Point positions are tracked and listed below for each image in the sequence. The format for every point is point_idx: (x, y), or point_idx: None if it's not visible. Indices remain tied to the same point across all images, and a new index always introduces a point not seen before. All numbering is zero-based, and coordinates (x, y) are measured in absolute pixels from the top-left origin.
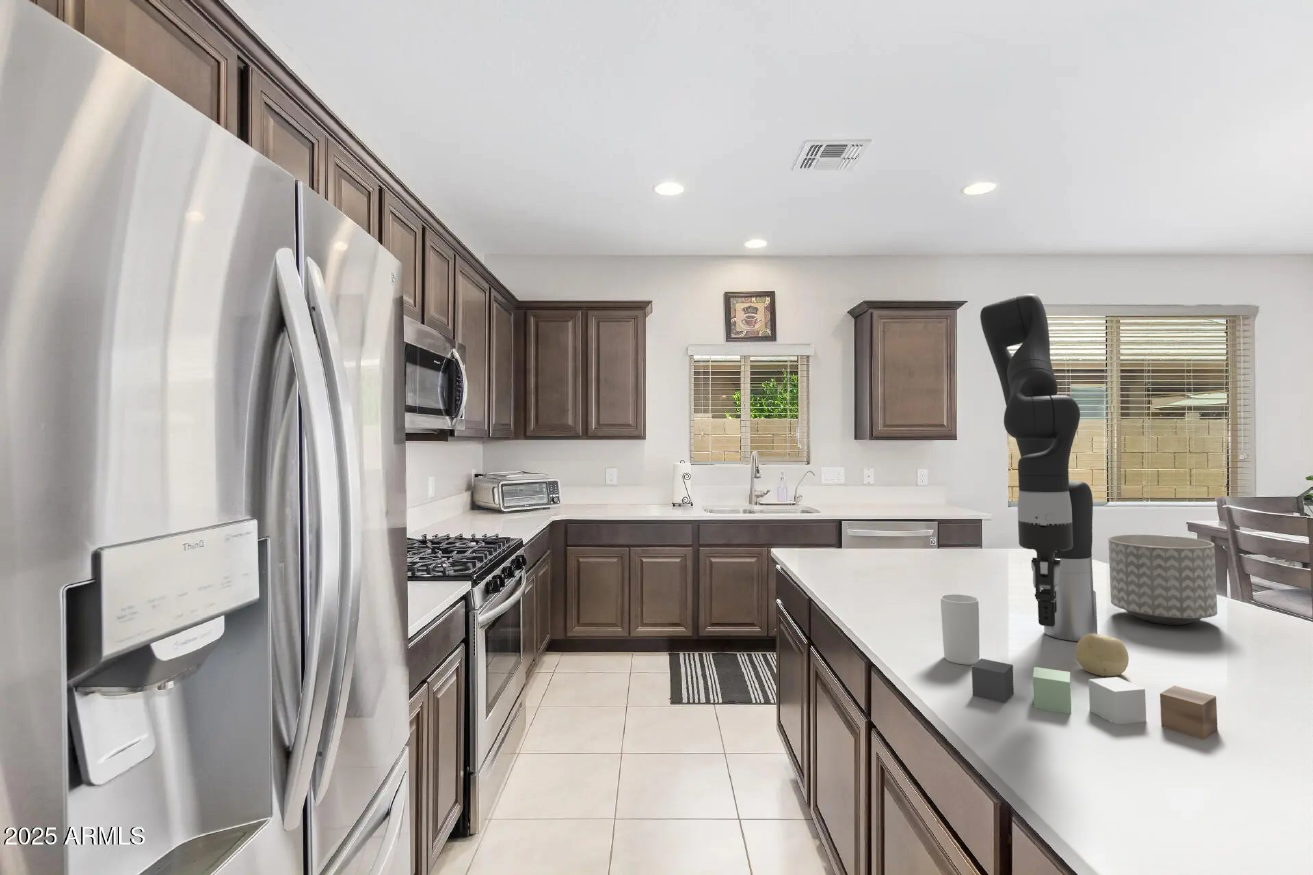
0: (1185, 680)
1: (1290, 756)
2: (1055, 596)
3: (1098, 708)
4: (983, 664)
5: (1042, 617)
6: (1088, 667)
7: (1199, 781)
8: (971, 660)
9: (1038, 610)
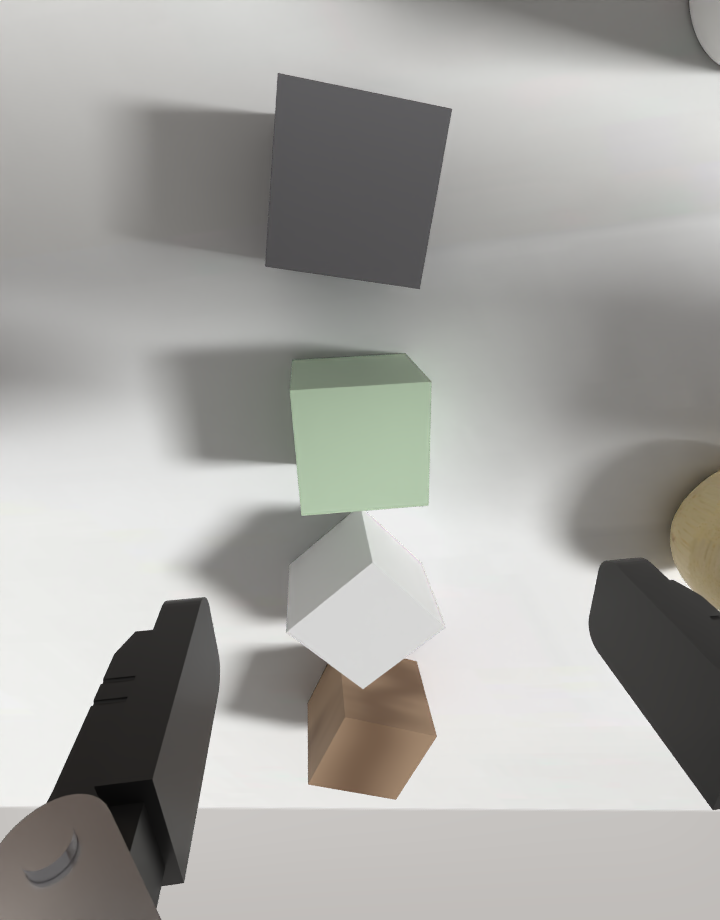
0: None
1: (307, 797)
2: (674, 752)
3: (335, 537)
4: (348, 139)
5: (112, 677)
6: (695, 494)
7: (54, 703)
8: (711, 32)
9: (134, 691)
